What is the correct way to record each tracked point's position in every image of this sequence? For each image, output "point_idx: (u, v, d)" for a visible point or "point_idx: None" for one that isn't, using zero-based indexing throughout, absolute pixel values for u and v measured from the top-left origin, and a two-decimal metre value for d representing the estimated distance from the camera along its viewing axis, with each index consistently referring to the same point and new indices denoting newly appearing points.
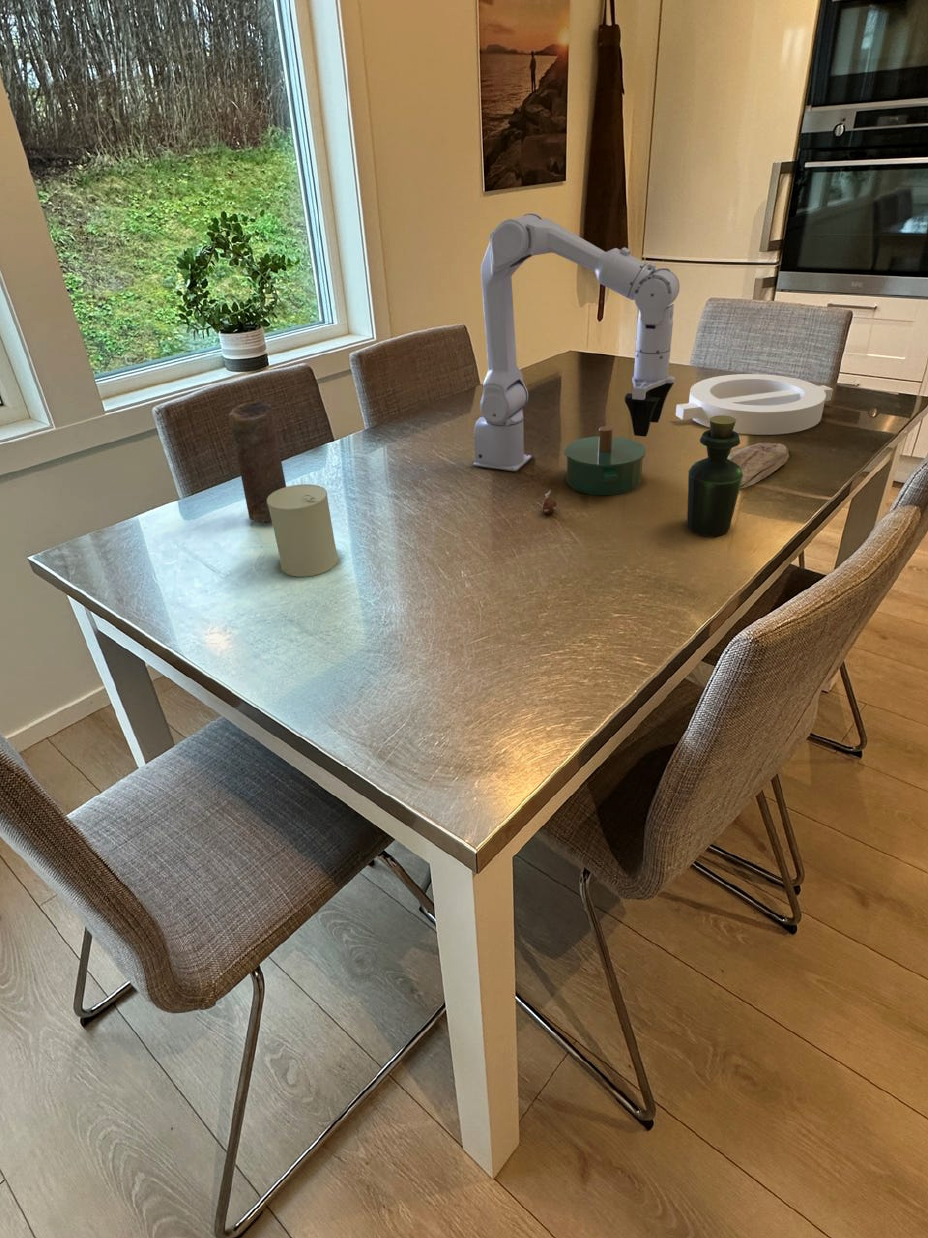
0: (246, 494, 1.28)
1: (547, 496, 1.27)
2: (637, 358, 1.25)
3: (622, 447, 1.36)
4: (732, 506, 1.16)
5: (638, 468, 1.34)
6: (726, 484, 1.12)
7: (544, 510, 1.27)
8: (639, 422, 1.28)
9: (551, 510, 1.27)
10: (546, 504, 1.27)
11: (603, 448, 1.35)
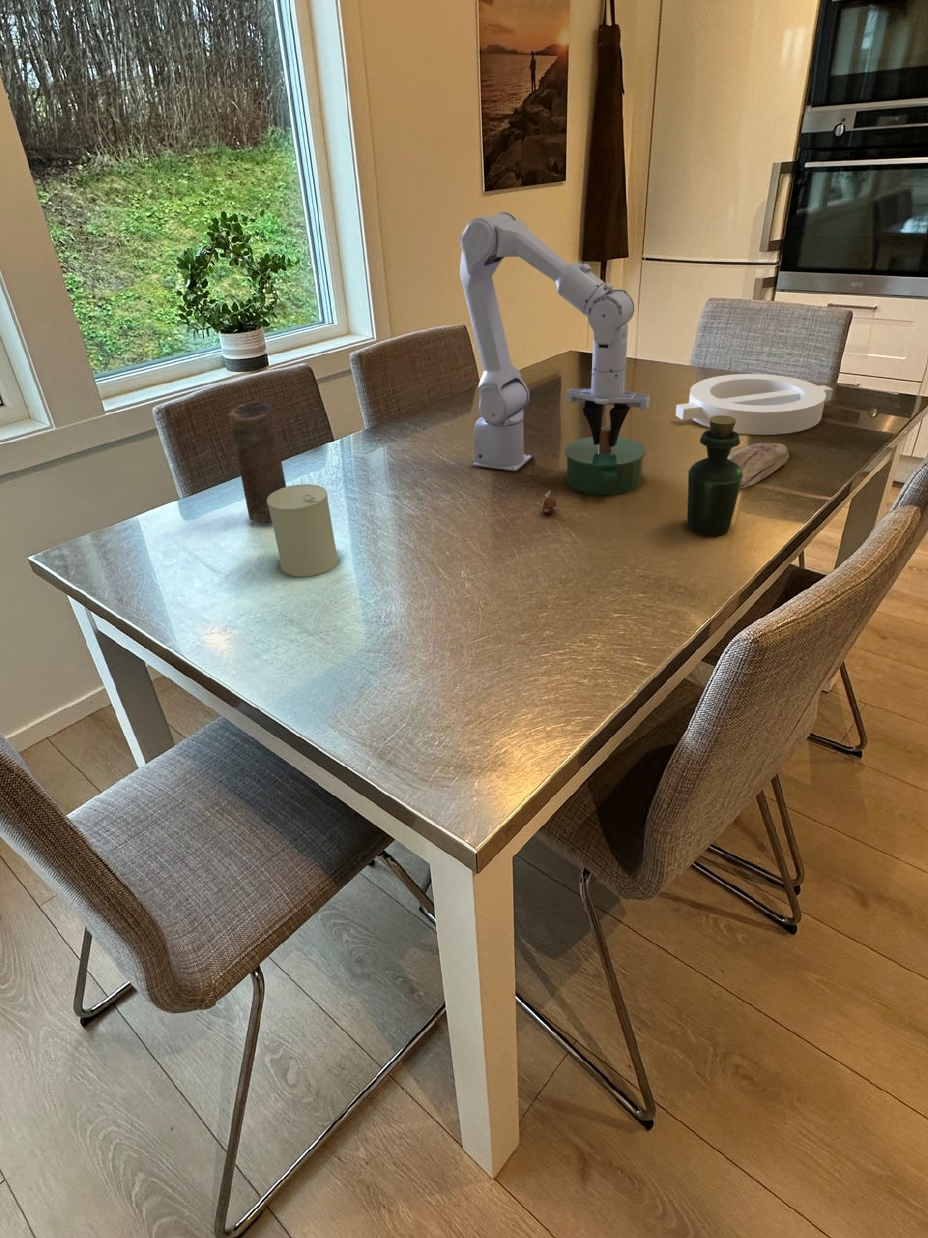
0: (246, 494, 1.28)
1: (547, 496, 1.27)
2: None
3: (622, 447, 1.36)
4: (732, 506, 1.16)
5: (638, 468, 1.34)
6: (726, 484, 1.12)
7: (544, 510, 1.27)
8: None
9: (551, 510, 1.27)
10: (546, 504, 1.27)
11: (603, 448, 1.35)
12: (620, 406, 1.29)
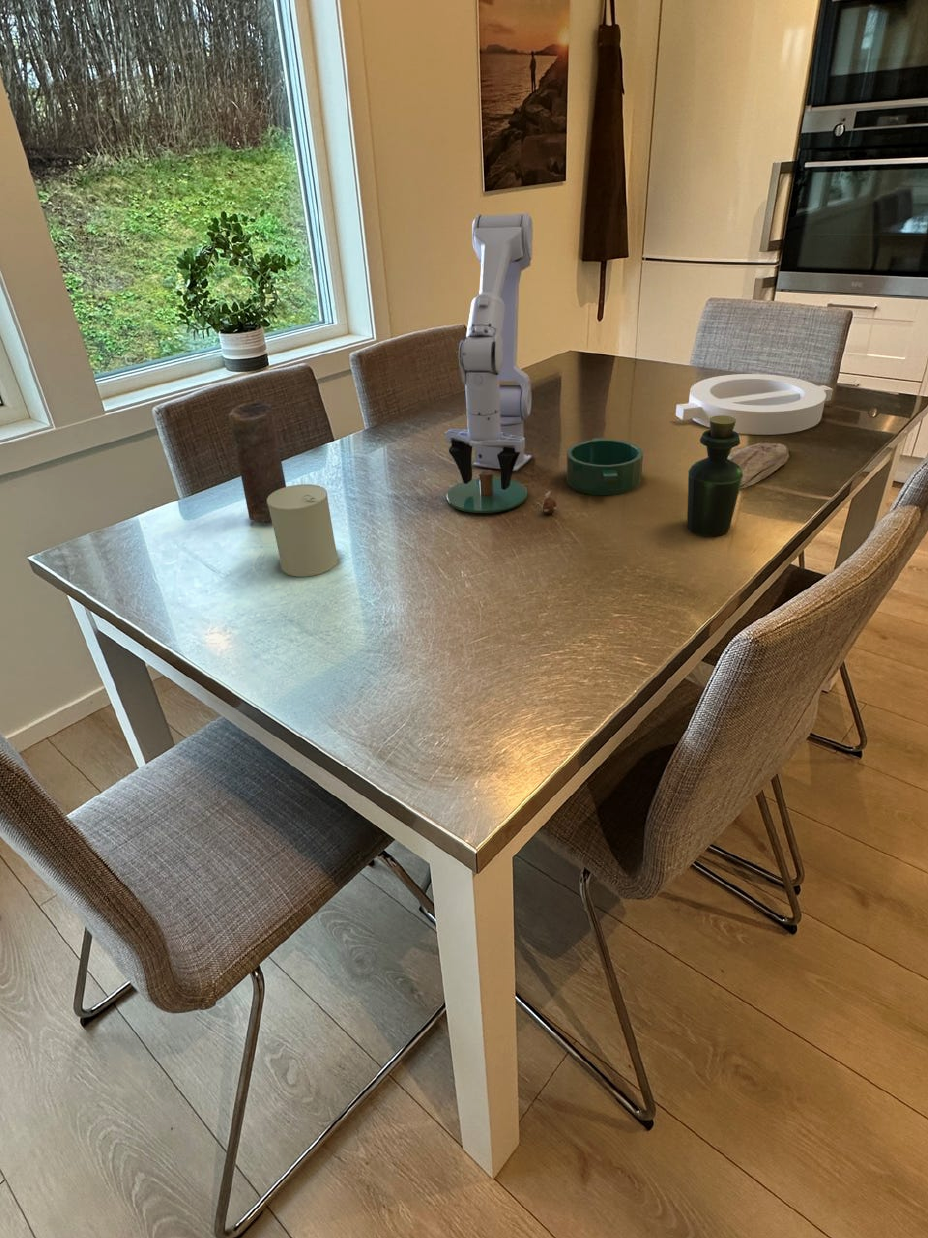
0: (246, 494, 1.28)
1: (547, 496, 1.27)
2: None
3: (505, 490, 1.35)
4: (732, 506, 1.16)
5: (638, 468, 1.34)
6: (726, 484, 1.12)
7: (544, 510, 1.27)
8: None
9: (551, 510, 1.27)
10: (546, 504, 1.27)
11: (484, 492, 1.33)
12: (508, 450, 1.27)
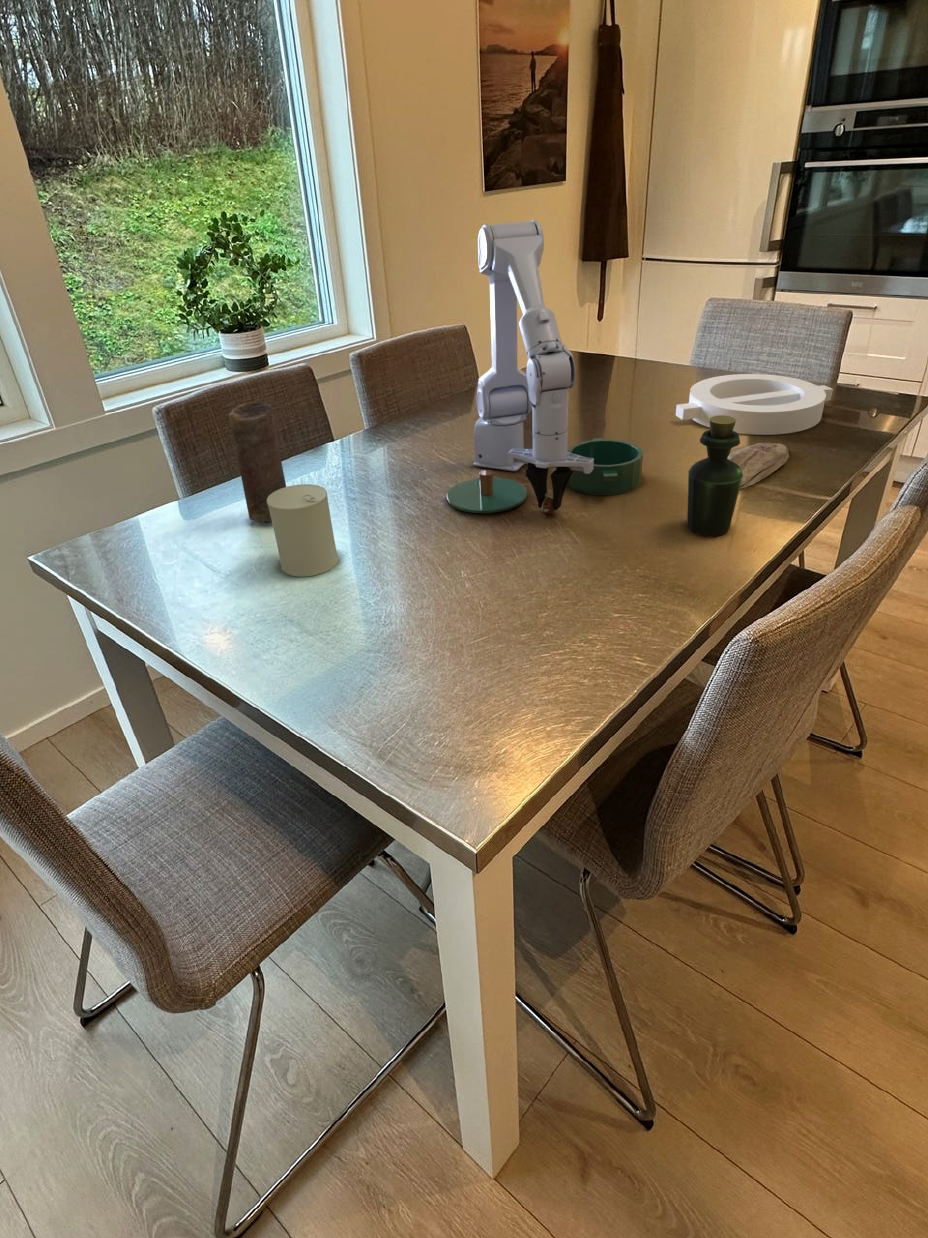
0: (246, 494, 1.28)
1: (547, 496, 1.27)
2: None
3: (505, 490, 1.35)
4: (732, 506, 1.16)
5: (638, 468, 1.34)
6: (726, 484, 1.12)
7: (544, 510, 1.27)
8: None
9: (551, 510, 1.27)
10: (546, 504, 1.27)
11: (484, 492, 1.33)
12: (562, 469, 1.22)
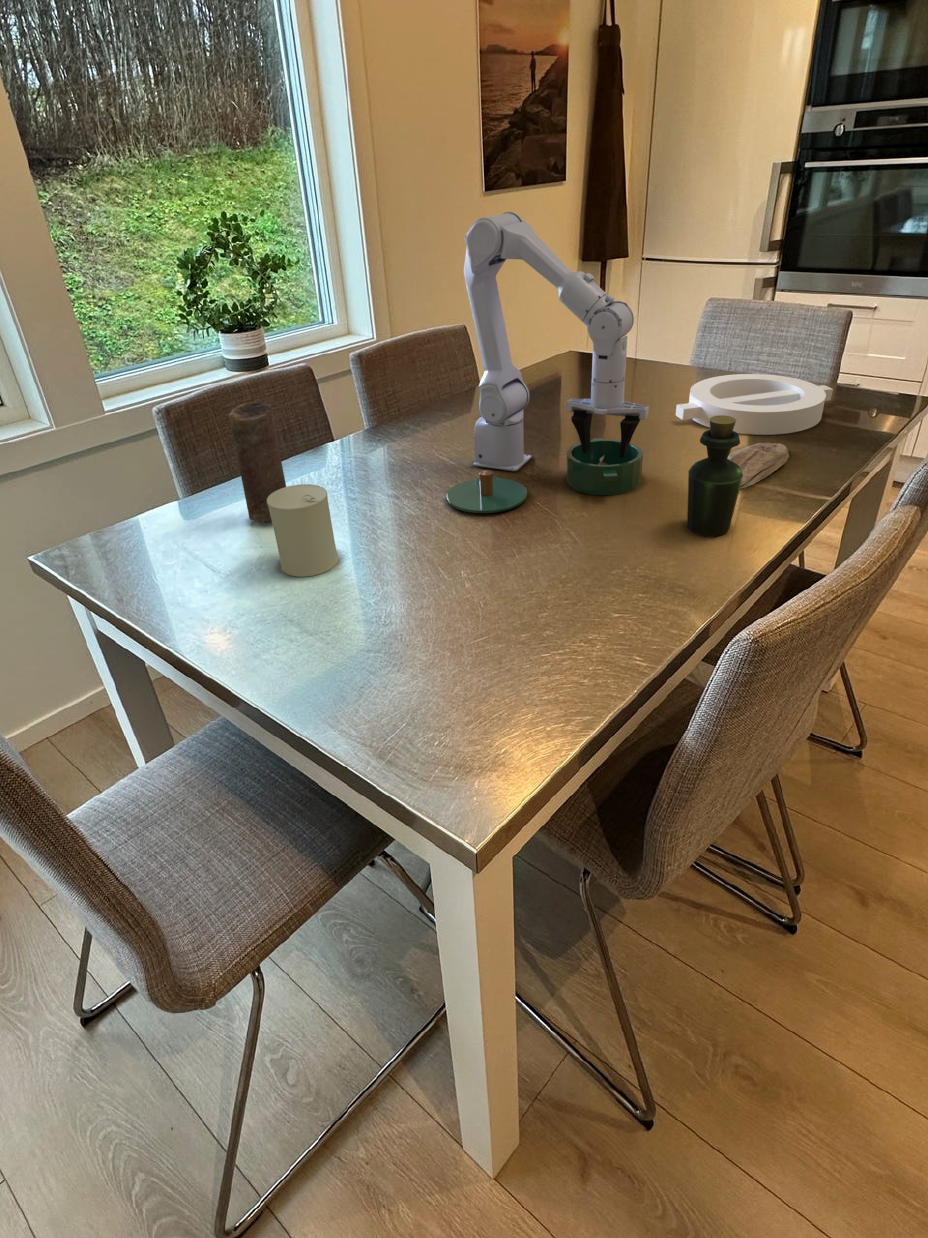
0: (246, 494, 1.28)
1: (601, 461, 1.38)
2: None
3: (505, 490, 1.35)
4: (732, 506, 1.16)
5: (638, 468, 1.34)
6: (726, 484, 1.12)
7: None
8: None
9: None
10: None
11: (484, 492, 1.33)
12: (631, 417, 1.30)
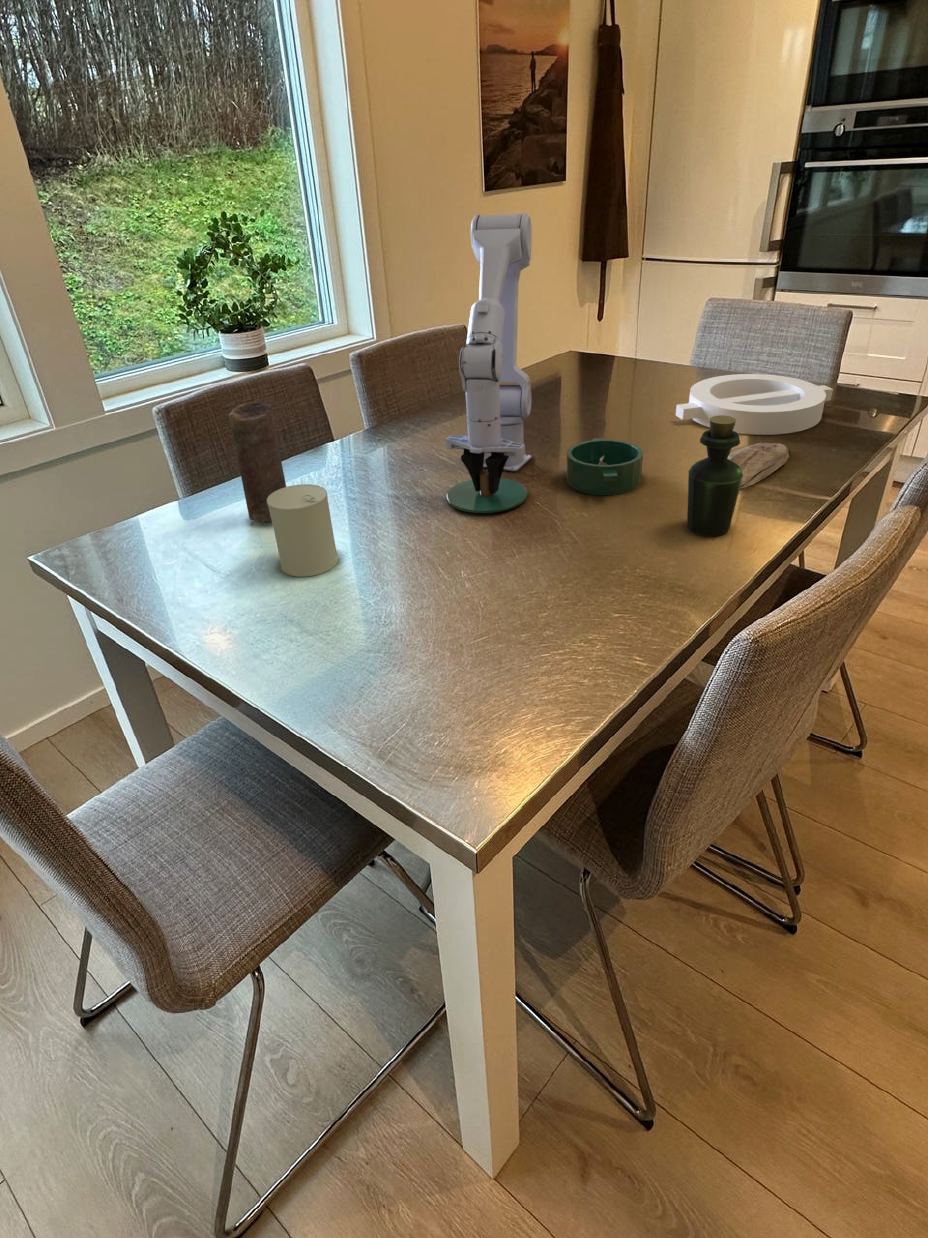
0: (246, 494, 1.28)
1: (601, 461, 1.38)
2: None
3: (505, 490, 1.35)
4: (732, 506, 1.16)
5: (638, 468, 1.34)
6: (726, 484, 1.12)
7: None
8: None
9: None
10: None
11: (484, 492, 1.33)
12: (497, 454, 1.28)
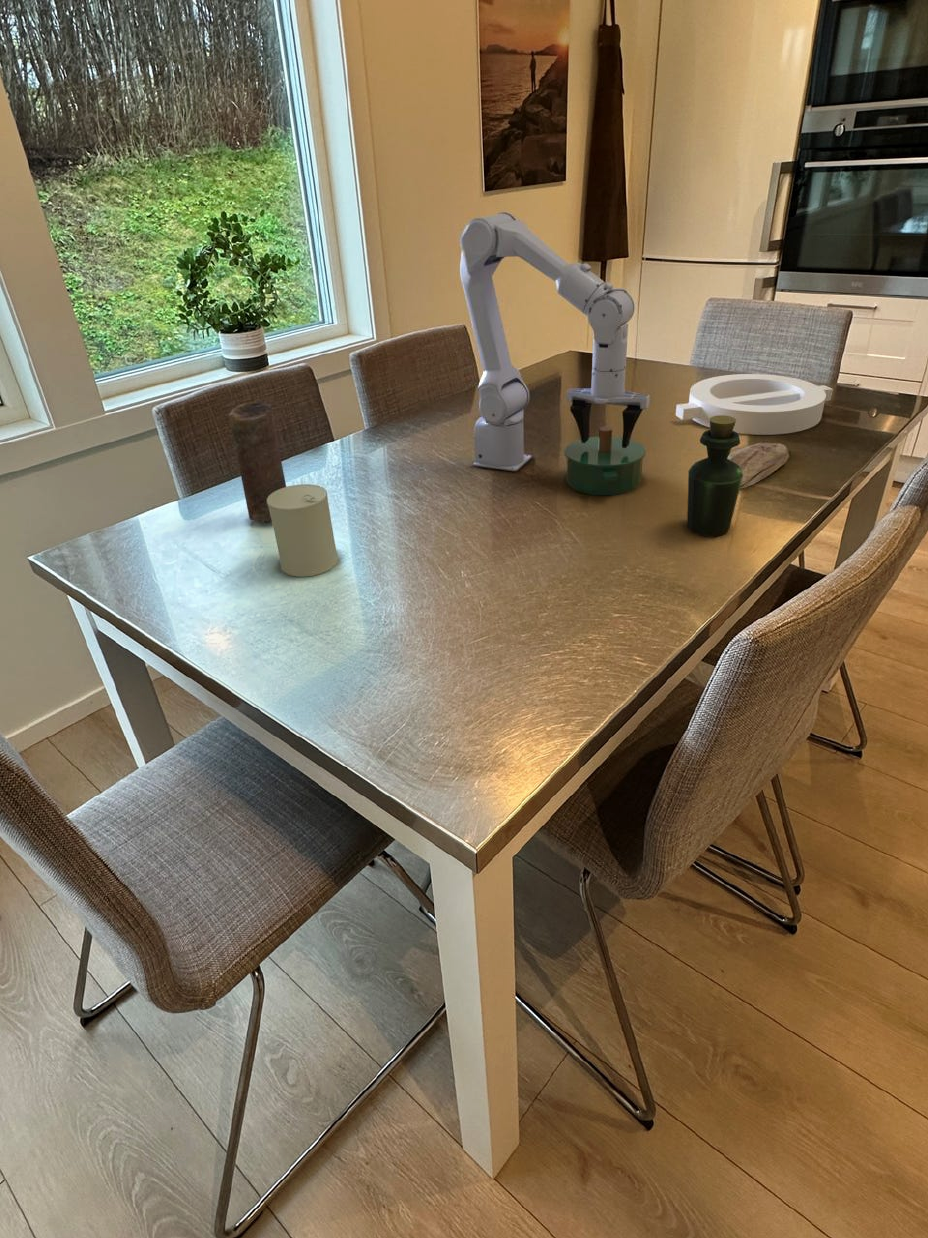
0: (246, 494, 1.28)
1: None
2: None
3: None
4: (732, 506, 1.16)
5: (638, 468, 1.34)
6: (726, 484, 1.12)
7: None
8: None
9: None
10: None
11: (603, 448, 1.34)
12: (633, 407, 1.28)
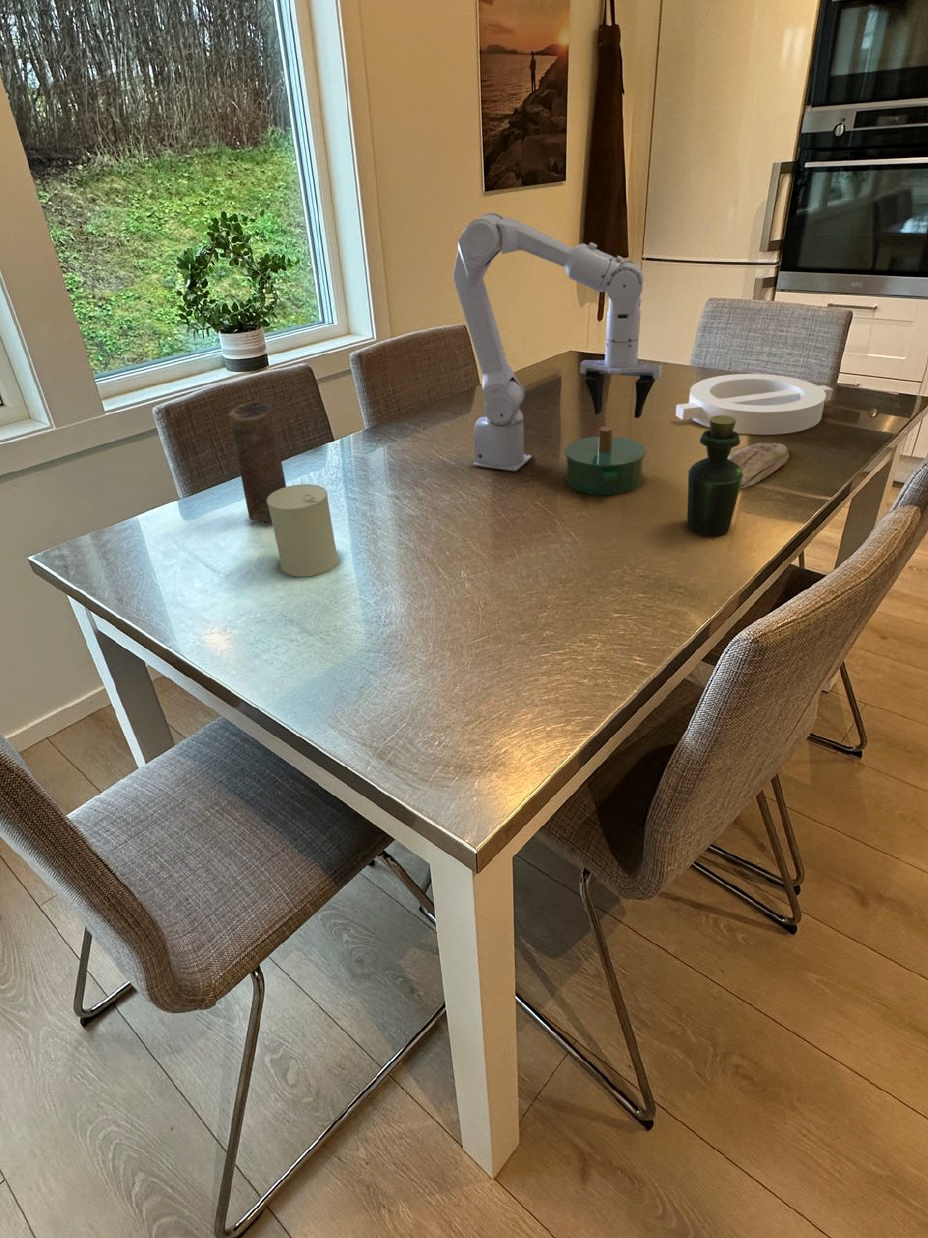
0: (246, 494, 1.28)
1: None
2: None
3: (622, 447, 1.36)
4: (732, 506, 1.16)
5: (638, 468, 1.34)
6: (726, 484, 1.12)
7: None
8: None
9: None
10: None
11: (603, 448, 1.34)
12: (646, 377, 1.32)
